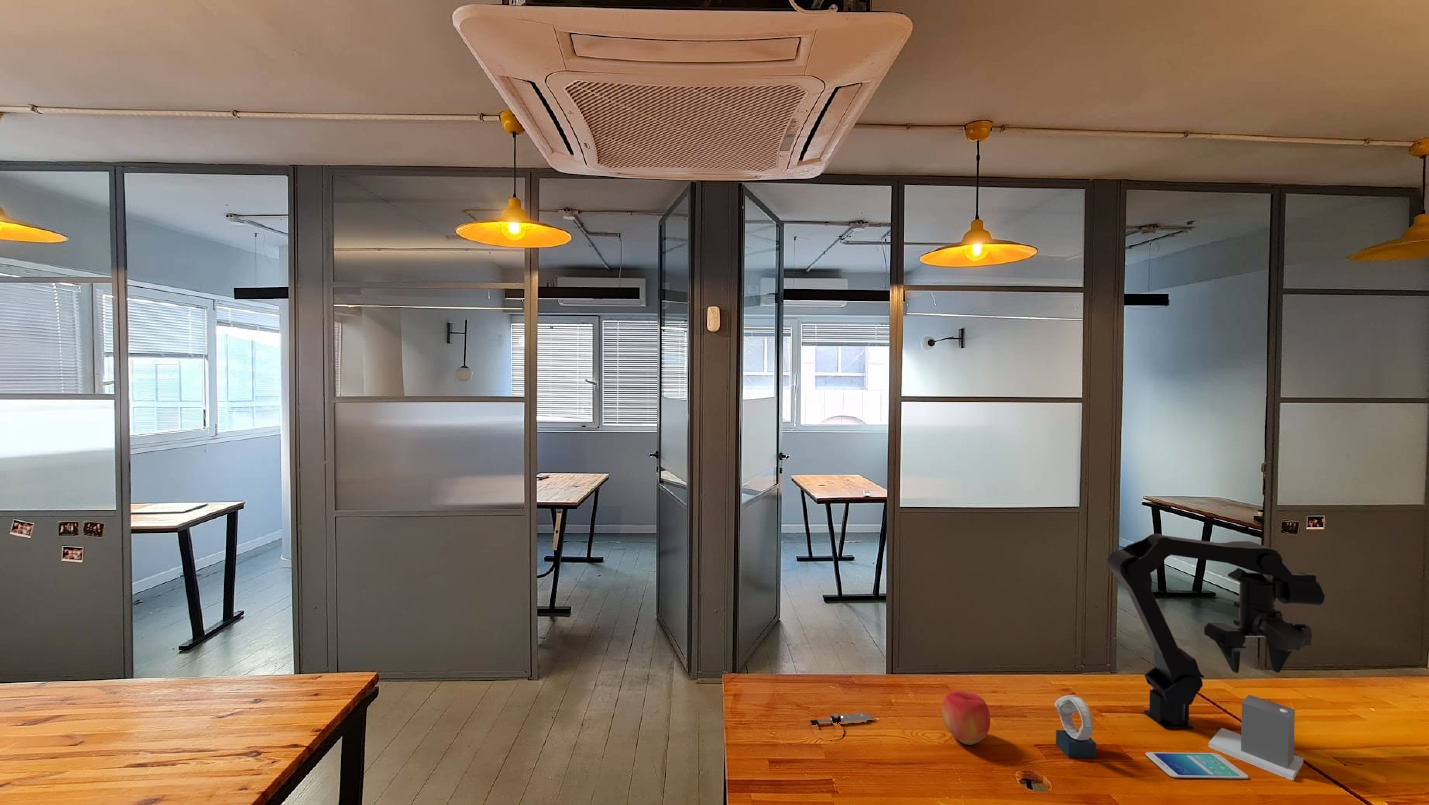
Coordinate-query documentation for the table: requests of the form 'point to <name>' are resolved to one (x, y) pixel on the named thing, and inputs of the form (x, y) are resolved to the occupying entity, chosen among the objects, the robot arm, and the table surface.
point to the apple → (966, 716)
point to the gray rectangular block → (1268, 731)
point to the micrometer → (844, 718)
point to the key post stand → (1232, 747)
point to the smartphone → (1195, 765)
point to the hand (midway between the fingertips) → (1255, 672)
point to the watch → (1070, 738)
